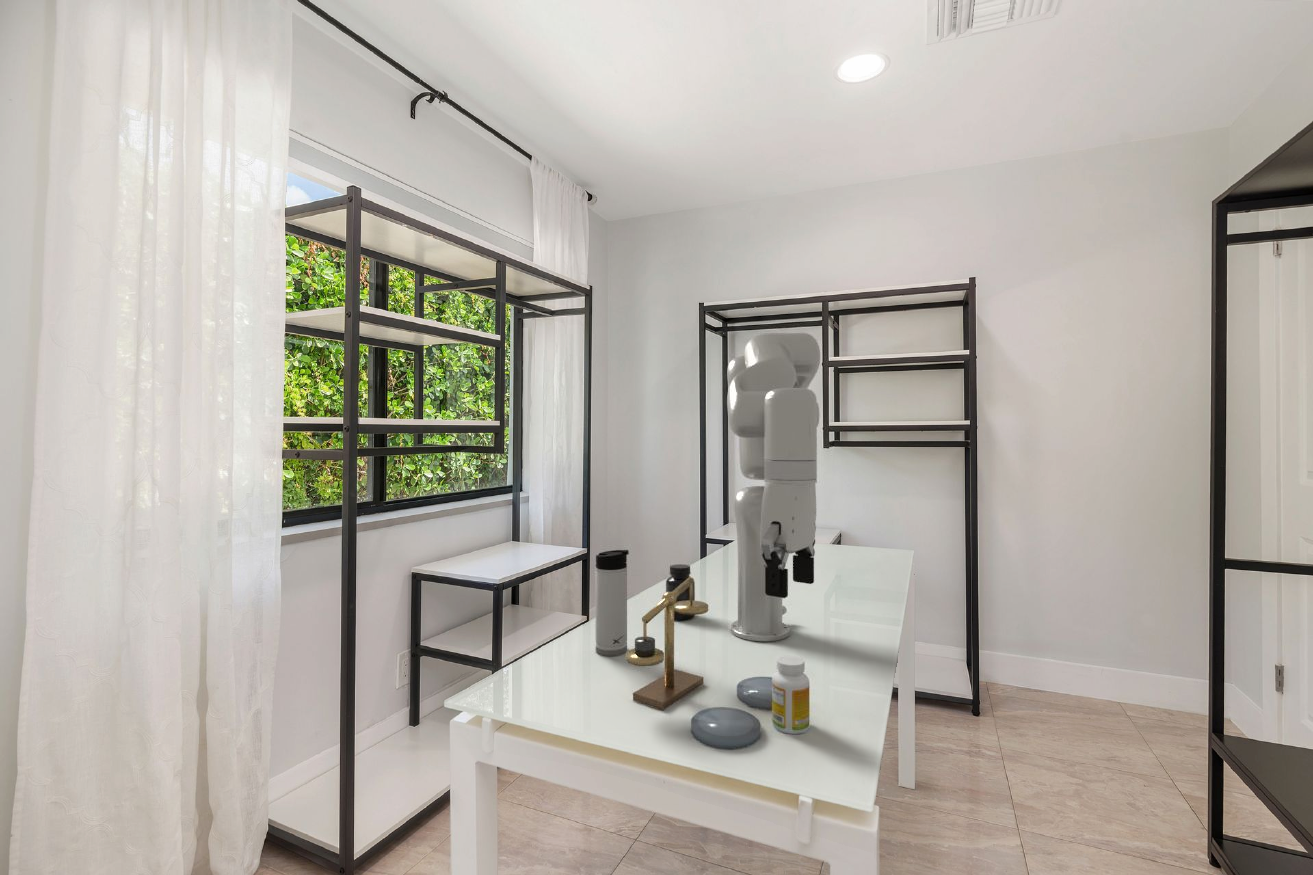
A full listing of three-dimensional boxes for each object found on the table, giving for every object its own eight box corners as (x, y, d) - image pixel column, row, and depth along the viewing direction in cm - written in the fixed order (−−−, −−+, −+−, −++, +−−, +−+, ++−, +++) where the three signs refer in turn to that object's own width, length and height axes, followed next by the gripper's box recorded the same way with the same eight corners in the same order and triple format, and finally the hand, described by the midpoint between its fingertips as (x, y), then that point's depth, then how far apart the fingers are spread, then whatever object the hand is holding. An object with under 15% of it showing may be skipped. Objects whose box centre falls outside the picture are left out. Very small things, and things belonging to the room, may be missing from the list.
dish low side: (713, 708, 93) (713, 700, 93) (772, 727, 87) (772, 718, 87) (677, 734, 85) (677, 726, 85) (740, 757, 79) (740, 747, 79)
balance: (686, 668, 109) (686, 571, 108) (714, 676, 105) (714, 575, 105) (618, 708, 93) (617, 594, 93) (648, 719, 89) (648, 600, 89)
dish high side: (753, 678, 104) (753, 671, 104) (808, 693, 98) (808, 685, 98) (725, 699, 96) (725, 691, 96) (783, 716, 90) (783, 708, 90)
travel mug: (624, 657, 114) (624, 553, 114) (591, 655, 115) (591, 552, 115) (632, 646, 120) (632, 547, 120) (600, 643, 122) (600, 546, 122)
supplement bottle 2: (811, 720, 89) (811, 655, 89) (807, 737, 84) (807, 669, 84) (774, 714, 91) (774, 651, 91) (769, 731, 86) (769, 664, 86)
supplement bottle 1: (700, 615, 141) (700, 565, 141) (685, 623, 135) (685, 570, 135) (675, 611, 144) (675, 561, 144) (660, 618, 139) (660, 567, 138)
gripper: (790, 469, 96) (790, 574, 96) (739, 474, 82) (739, 597, 82) (835, 470, 92) (835, 581, 92) (790, 476, 78) (790, 606, 78)
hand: (790, 588), depth 87 cm, fingers open, 9 cm apart
